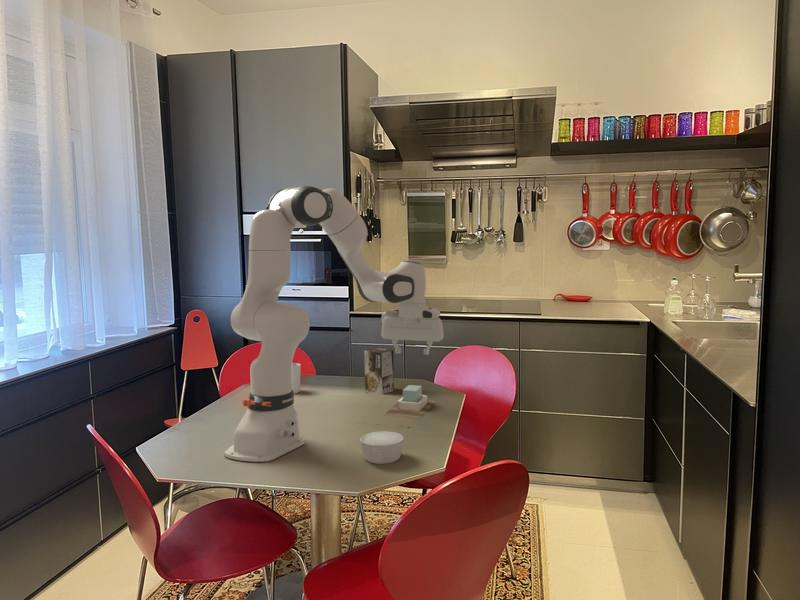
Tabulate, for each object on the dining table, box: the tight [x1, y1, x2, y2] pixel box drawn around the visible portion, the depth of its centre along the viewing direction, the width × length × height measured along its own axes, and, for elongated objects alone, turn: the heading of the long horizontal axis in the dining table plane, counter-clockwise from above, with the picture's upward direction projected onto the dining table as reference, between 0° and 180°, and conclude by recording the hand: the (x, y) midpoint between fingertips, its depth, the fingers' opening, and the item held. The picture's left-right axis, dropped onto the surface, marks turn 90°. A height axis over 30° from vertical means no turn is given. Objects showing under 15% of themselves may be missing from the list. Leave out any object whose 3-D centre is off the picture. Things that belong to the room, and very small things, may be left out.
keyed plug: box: [402, 384, 423, 403], centre depth 194 cm, size 4×7×6 cm, turn 163°
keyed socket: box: [396, 394, 429, 411], centre depth 195 cm, size 10×8×2 cm
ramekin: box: [359, 430, 405, 465], centre depth 152 cm, size 11×11×5 cm
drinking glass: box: [292, 362, 301, 394], centre depth 218 cm, size 7×7×10 cm
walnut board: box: [383, 399, 437, 419], centre depth 193 cm, size 20×12×1 cm, turn 163°
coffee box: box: [363, 347, 395, 395], centre depth 214 cm, size 9×6×16 cm
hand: (412, 353), depth 193 cm, fingers open, 8 cm apart
